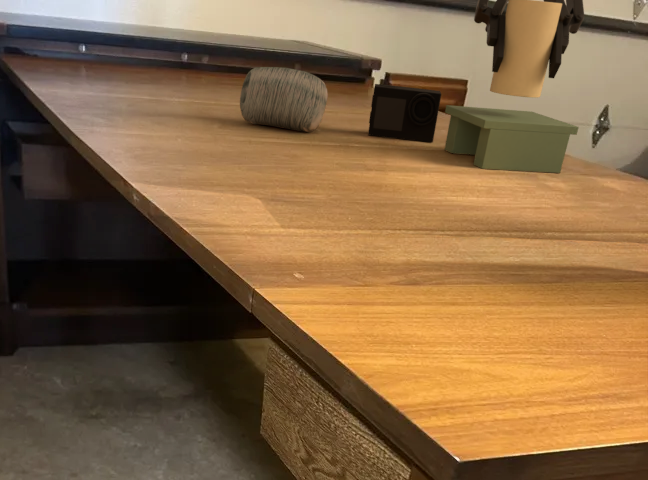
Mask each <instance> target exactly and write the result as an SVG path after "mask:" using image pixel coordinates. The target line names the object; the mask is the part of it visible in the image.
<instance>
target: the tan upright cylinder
mask: <svg viewBox="0 0 648 480" xmlns="http://www.w3.org/2000/svg"><path fill="white" fill-rule="evenodd" d="M561 8H562V3H553V2H544V0H542V1H541V0H508V3H507V5H506V11H505V15H506V21H505V39H504V57H503V60H502V63H501V65H500V68H499V70H498V72H492V77H491V83H490V88H489V91H490V92H491V93H495V94H499V95H505V96H512V97H519V98H532V99H533V98H535V99H536V98H537V99H538V98H540V97H541V95H542V91H543V87H544V82H545V78H546V74H547V70H548V67H549V58H550V54H551V49H552V45H553V41H554V37H555V33H556V29H557V24H558V20H559V16H560V12H561Z"/></svg>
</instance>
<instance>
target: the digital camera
mask: <svg viewBox="0 0 648 480" xmlns="http://www.w3.org/2000/svg"><path fill="white" fill-rule="evenodd" d="M441 98H442V93H441V91H440V90H435V89H426V88H418V87H409V86H399V85H390V84H379V83H375V84H374V87H373V94H372V98H371V105H370V107H371V109H370V111H369V120H368V124H369V125H368V133H367V135H368V136H371V137H372V136H373V137H381V138H391V139H399V140H408V141H414V142H415V141H416V142H424V141H425V142H426V143H433V142H434V138H435V133H436V129H437V128H436V126H437V121H438V116H439V111H440V110H439V109H440V106H441Z"/></svg>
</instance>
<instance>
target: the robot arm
mask: <svg viewBox="0 0 648 480" xmlns="http://www.w3.org/2000/svg"><path fill="white" fill-rule="evenodd" d="M489 1H490V0H477V3H476V7H475V12H474V18H473V21H474V23H476V24H482V23H483V24H485V28H484V31H485V32H486V45H487V47H493V49H492V65H491V66H492V67H491V72H492V73H494V72H498V70H499V68H500V65H501V63H502V60H503V57H504V39H505V21H506V14H505V15H504V14H503V12H504V11H505V8H507V5H508V0H496V1H495V3H494V5H493V6H492V7H489ZM543 1H544V2H553V3H562V8H561V12H560V16H559V20H558V24H557V29H556V33H555V37H554V41H553V45H552V49H551V54H550V58H549V62H548V78H549V79H555V77H556V75H557V73H558V71H559V69H560V68H561V65H562V55H564V54H565V52H566V51H567V48H568V46H569V44H570V34H573V35H574V34H577V33H578V31H579V30H580V27H581V25H582V23H583V21H584V19H585V10H584V9H585V7H584V0H543Z"/></svg>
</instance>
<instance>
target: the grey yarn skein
mask: <svg viewBox="0 0 648 480" xmlns="http://www.w3.org/2000/svg"><path fill="white" fill-rule="evenodd" d="M328 93H329V91H328V88H327V85H326V84H325V82H324V81H323V80H322V79H321V78H320V77H318V76H316V75H315V74H312V73H310V72H308V71H304V70H299V69H295V68H289V67H278V66H261V67H253V68H252V69H250V70H249V71H248V73H246V76H245V78H244V80H243V83H242V87H241V90H240V97H239V108H240V112H241V116H242V118H243V120H244V121H246V122H248V123H250V124H251V125H261V126H269V127H277V128H281V129H286V130H292V131H298V132H304V133H305V132H306V133H307V132H308V133H311V132H314V131H315V130H316V129H317V128H318V127H319V126H320V124H321V122H322V119H323V116H324V114H325V111H326V107H327V103H328V97H329V94H328Z"/></svg>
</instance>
